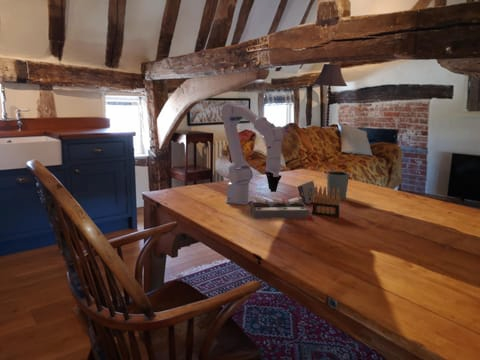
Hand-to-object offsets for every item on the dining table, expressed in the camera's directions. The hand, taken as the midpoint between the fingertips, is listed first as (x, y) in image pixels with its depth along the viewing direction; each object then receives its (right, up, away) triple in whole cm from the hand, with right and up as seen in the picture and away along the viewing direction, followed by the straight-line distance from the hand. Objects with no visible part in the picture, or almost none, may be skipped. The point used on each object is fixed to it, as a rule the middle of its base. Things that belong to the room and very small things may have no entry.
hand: (272, 190), depth 149 cm
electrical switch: (+17, -6, +18) cm, 26 cm away
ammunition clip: (+21, -10, -1) cm, 24 cm away
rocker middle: (+3, -4, +2) cm, 5 cm away
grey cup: (+33, -4, +25) cm, 41 cm away
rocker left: (-4, -4, +1) cm, 6 cm away
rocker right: (+10, -4, +2) cm, 11 cm away
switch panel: (+3, -9, +1) cm, 10 cm away
